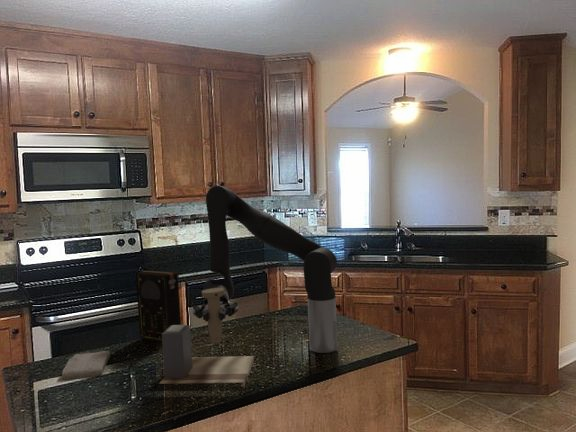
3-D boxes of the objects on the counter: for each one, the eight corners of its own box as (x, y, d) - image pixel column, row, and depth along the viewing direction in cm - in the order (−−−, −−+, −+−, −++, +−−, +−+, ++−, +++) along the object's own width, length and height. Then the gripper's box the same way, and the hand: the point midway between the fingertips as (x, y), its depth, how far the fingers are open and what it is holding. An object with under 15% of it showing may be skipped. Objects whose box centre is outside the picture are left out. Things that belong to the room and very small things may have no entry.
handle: (229, 342, 138) (226, 290, 137) (208, 346, 135) (205, 293, 134) (223, 337, 143) (220, 287, 141) (202, 341, 140) (199, 290, 138)
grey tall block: (192, 367, 148) (189, 323, 147) (185, 377, 140) (182, 331, 139) (173, 367, 148) (170, 324, 147) (164, 378, 140) (161, 332, 139)
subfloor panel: (254, 359, 155) (253, 356, 155) (244, 386, 135) (243, 382, 135) (180, 361, 157) (179, 357, 157) (159, 387, 137) (159, 383, 137)
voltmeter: (137, 339, 181) (132, 272, 179) (154, 332, 188) (150, 268, 186) (168, 345, 173) (163, 275, 171) (185, 337, 180) (180, 270, 179)
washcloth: (111, 356, 165) (110, 347, 165) (103, 376, 148) (102, 367, 148) (73, 361, 163) (72, 352, 162) (61, 382, 145) (60, 372, 145)
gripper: (193, 291, 152) (187, 306, 134) (238, 288, 153) (238, 302, 136) (194, 315, 152) (188, 332, 135) (240, 311, 154) (240, 328, 136)
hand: (214, 317), depth 136 cm, fingers closed on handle, 3 cm apart
